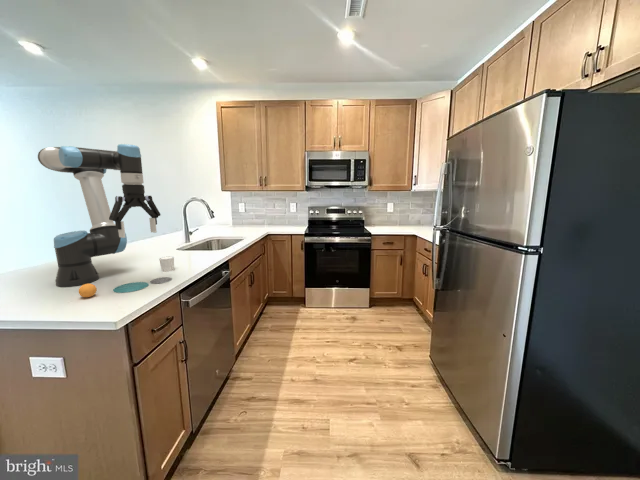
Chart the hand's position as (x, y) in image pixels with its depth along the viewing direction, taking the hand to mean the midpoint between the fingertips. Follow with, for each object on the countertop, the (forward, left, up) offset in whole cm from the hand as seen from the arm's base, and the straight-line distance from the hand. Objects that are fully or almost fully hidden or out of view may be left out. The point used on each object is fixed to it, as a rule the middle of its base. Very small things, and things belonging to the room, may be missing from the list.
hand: (138, 234), depth 114 cm
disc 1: (-6, -1, -24) cm, 24 cm away
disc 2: (0, +9, -24) cm, 25 cm away
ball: (-13, -14, -21) cm, 28 cm away
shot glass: (-9, +24, -24) cm, 35 cm away
